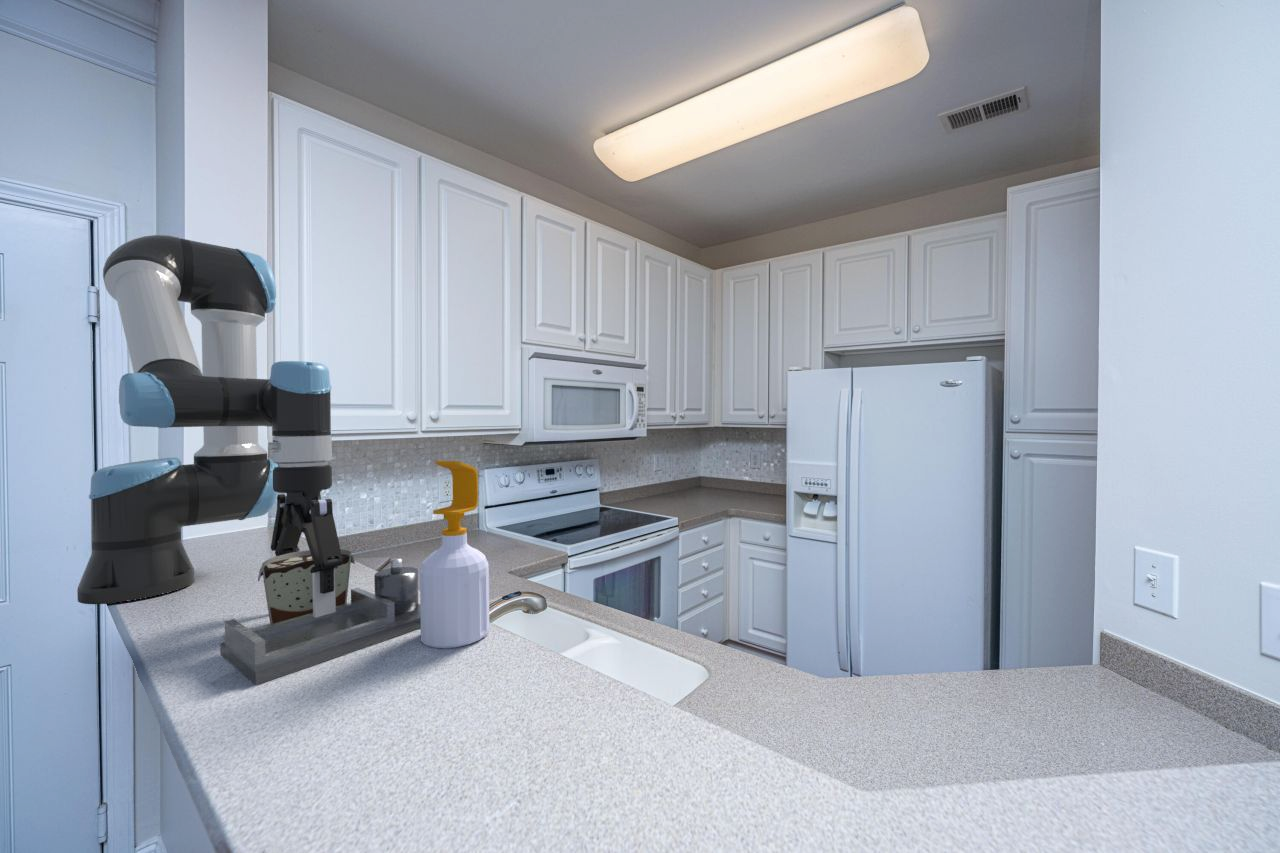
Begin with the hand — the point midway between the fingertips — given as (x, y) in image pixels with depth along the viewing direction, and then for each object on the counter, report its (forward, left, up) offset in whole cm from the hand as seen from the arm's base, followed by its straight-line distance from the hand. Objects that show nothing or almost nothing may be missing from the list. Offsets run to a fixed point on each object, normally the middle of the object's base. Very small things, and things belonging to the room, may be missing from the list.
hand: (305, 605), depth 79 cm
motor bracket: (+11, 0, -2) cm, 11 cm away
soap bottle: (+24, +10, -2) cm, 26 cm away
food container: (0, 0, -2) cm, 2 cm away
